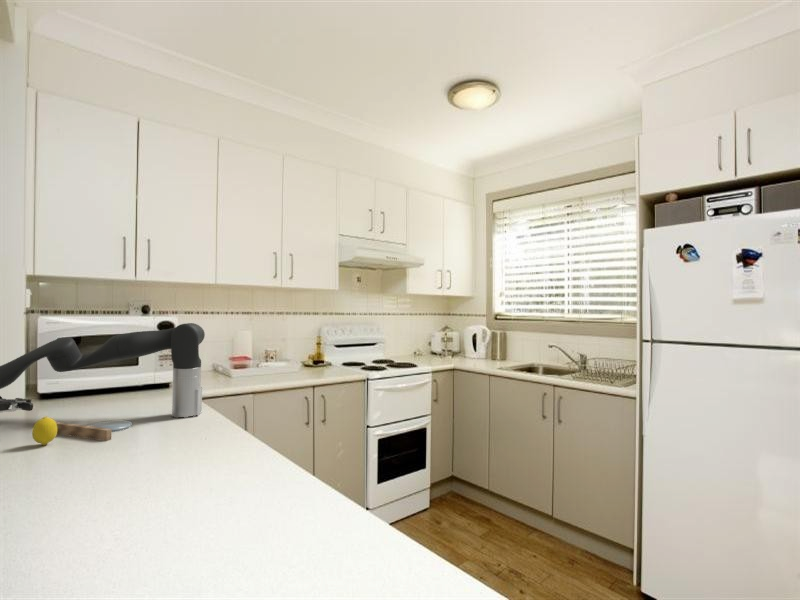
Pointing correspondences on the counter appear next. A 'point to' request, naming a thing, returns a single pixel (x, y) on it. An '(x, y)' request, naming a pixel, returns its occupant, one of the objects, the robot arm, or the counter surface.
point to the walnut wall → (84, 431)
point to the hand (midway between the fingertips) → (14, 409)
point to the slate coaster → (113, 425)
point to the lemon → (44, 430)
